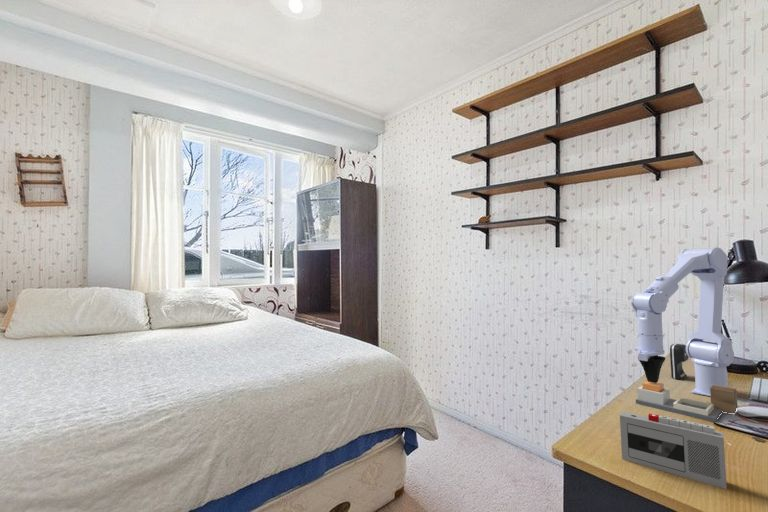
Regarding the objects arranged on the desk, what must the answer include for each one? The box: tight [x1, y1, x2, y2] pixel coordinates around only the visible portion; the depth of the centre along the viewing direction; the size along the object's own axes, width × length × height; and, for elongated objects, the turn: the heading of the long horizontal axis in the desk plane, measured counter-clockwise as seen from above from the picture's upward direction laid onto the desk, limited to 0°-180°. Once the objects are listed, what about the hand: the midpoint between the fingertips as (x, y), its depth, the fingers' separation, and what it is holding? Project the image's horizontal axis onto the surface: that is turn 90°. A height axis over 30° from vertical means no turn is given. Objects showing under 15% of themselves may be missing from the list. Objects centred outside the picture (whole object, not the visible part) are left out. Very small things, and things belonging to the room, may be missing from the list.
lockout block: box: [710, 385, 739, 413], centre depth 96 cm, size 4×4×6 cm
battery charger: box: [669, 343, 690, 380], centre depth 124 cm, size 7×4×11 cm, turn 128°
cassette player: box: [619, 410, 728, 490], centre depth 70 cm, size 16×3×10 cm, turn 47°
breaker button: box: [641, 380, 665, 393], centre depth 103 cm, size 4×4×3 cm
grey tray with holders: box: [635, 385, 723, 423], centre depth 98 cm, size 8×17×4 cm, turn 38°
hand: (652, 381), depth 103 cm, fingers closed
